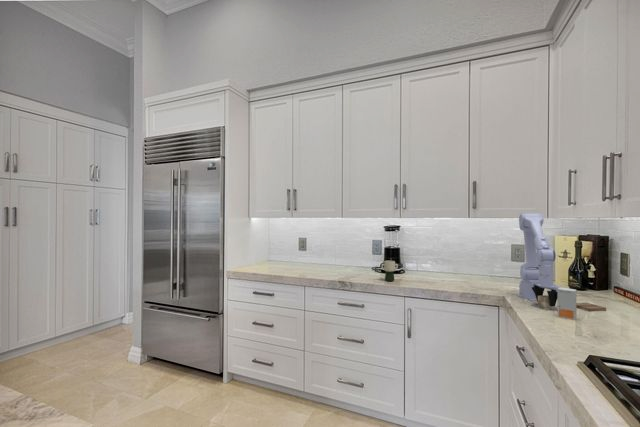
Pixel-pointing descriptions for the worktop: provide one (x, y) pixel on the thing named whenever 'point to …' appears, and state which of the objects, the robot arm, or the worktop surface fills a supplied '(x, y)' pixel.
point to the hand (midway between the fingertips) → (546, 304)
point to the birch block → (544, 302)
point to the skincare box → (566, 303)
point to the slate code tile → (544, 308)
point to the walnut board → (590, 307)
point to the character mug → (389, 269)
